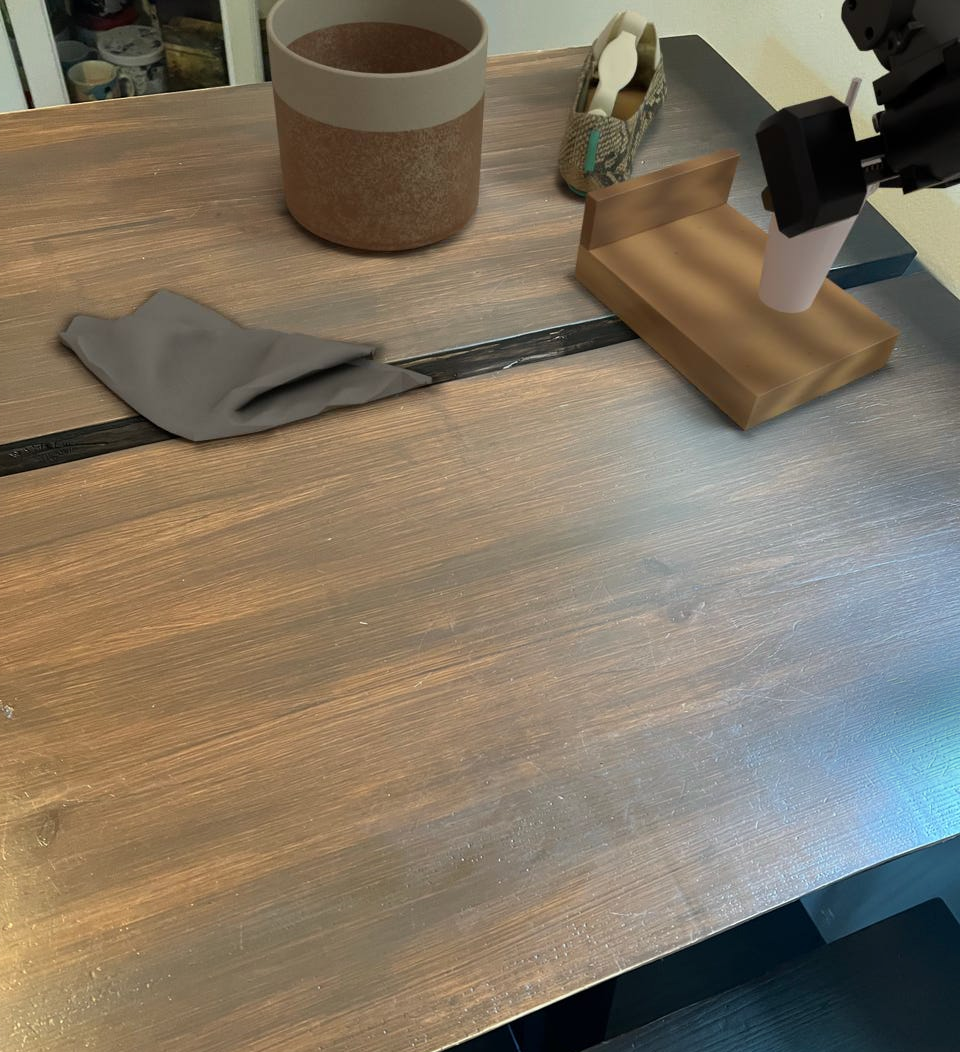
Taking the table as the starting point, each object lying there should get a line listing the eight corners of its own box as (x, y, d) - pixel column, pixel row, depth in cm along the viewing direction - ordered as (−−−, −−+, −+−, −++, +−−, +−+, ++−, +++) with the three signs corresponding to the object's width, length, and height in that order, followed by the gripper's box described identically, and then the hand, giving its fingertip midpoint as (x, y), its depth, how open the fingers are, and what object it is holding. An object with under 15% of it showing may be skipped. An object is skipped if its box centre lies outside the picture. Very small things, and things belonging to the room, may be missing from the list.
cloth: (7, 387, 67) (-4, 360, 65) (118, 276, 74) (110, 248, 73) (365, 497, 63) (364, 471, 61) (442, 367, 71) (443, 340, 69)
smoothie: (831, 277, 70) (910, 66, 59) (833, 332, 66) (918, 118, 55) (740, 263, 70) (801, 51, 59) (736, 316, 67) (801, 102, 55)
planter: (247, 189, 82) (222, 6, 71) (399, 133, 89) (397, -42, 78) (362, 283, 76) (354, 98, 65) (517, 215, 82) (533, 37, 71)
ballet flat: (672, 82, 98) (694, -24, 90) (636, 215, 83) (658, 102, 76) (589, 67, 98) (604, -39, 91) (539, 197, 84) (552, 83, 77)
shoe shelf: (708, 229, 83) (730, 146, 77) (884, 366, 73) (924, 283, 68) (573, 277, 78) (586, 192, 72) (744, 430, 68) (774, 347, 63)
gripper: (1117, -117, 50) (882, 30, 65) (842, -66, 44) (650, 85, 58) (1154, 112, 53) (920, 205, 67) (898, 191, 46) (701, 275, 61)
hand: (804, 189), depth 63 cm, fingers closed on smoothie, 6 cm apart
